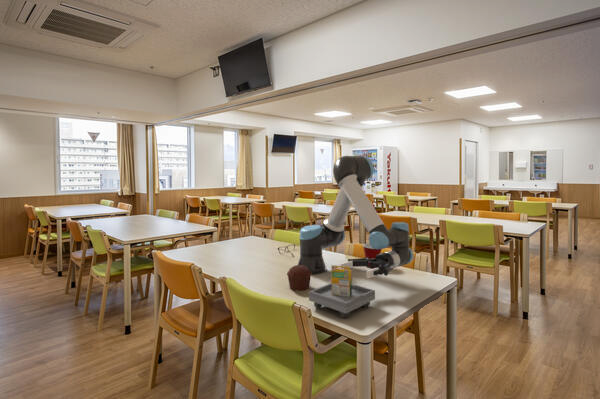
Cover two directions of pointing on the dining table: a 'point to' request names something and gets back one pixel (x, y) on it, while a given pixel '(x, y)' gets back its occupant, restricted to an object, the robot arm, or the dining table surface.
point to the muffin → (299, 278)
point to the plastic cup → (370, 251)
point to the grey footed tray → (342, 298)
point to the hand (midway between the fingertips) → (353, 270)
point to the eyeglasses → (287, 248)
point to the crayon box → (341, 281)
